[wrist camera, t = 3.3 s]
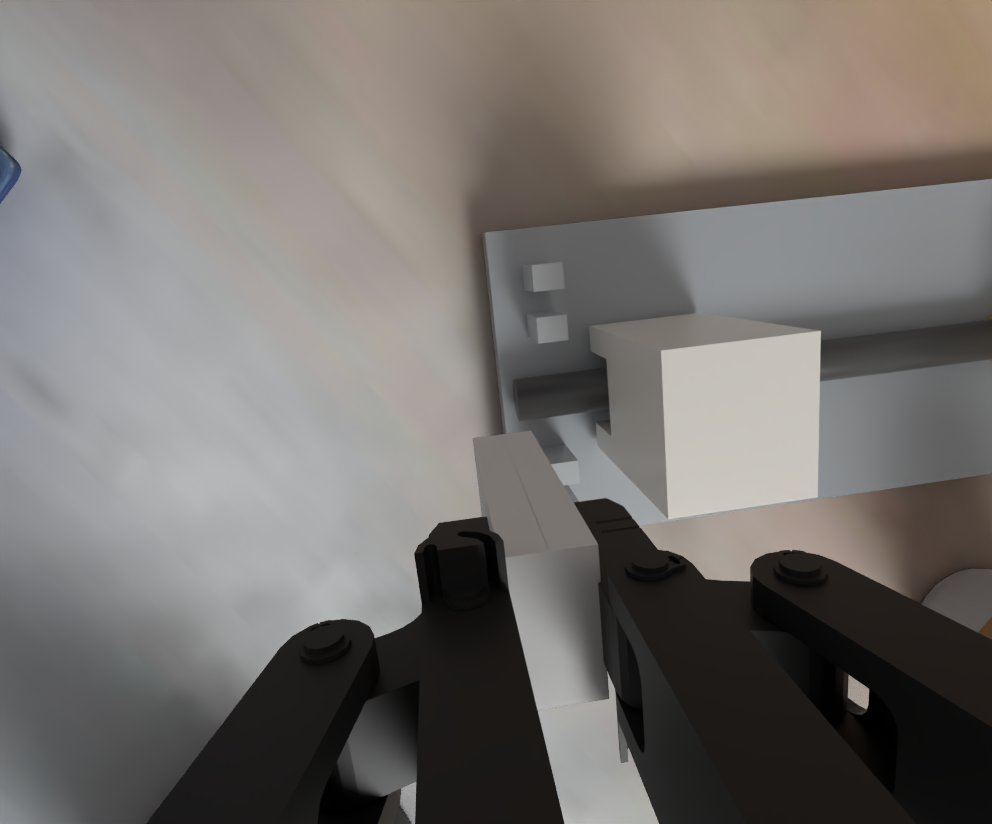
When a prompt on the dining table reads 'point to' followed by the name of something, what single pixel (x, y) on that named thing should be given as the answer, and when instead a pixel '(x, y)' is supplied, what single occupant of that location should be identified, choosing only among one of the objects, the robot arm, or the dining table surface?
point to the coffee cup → (965, 599)
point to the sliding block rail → (772, 299)
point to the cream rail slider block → (712, 410)
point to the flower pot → (7, 172)
